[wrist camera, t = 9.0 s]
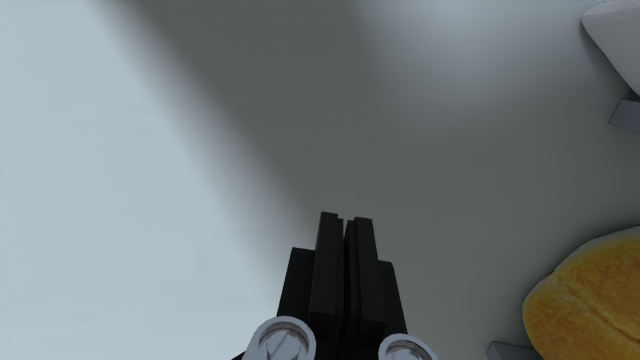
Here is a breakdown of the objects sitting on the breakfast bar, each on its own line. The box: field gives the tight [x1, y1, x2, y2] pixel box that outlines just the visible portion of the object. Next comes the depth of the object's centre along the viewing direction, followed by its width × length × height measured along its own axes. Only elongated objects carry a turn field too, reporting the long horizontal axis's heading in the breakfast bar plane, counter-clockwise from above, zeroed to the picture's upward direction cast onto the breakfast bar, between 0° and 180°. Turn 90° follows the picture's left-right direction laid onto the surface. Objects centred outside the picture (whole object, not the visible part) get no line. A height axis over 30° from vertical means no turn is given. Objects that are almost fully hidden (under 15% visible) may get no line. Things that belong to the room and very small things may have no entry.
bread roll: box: [522, 226, 640, 360], centre depth 14 cm, size 8×9×4 cm
